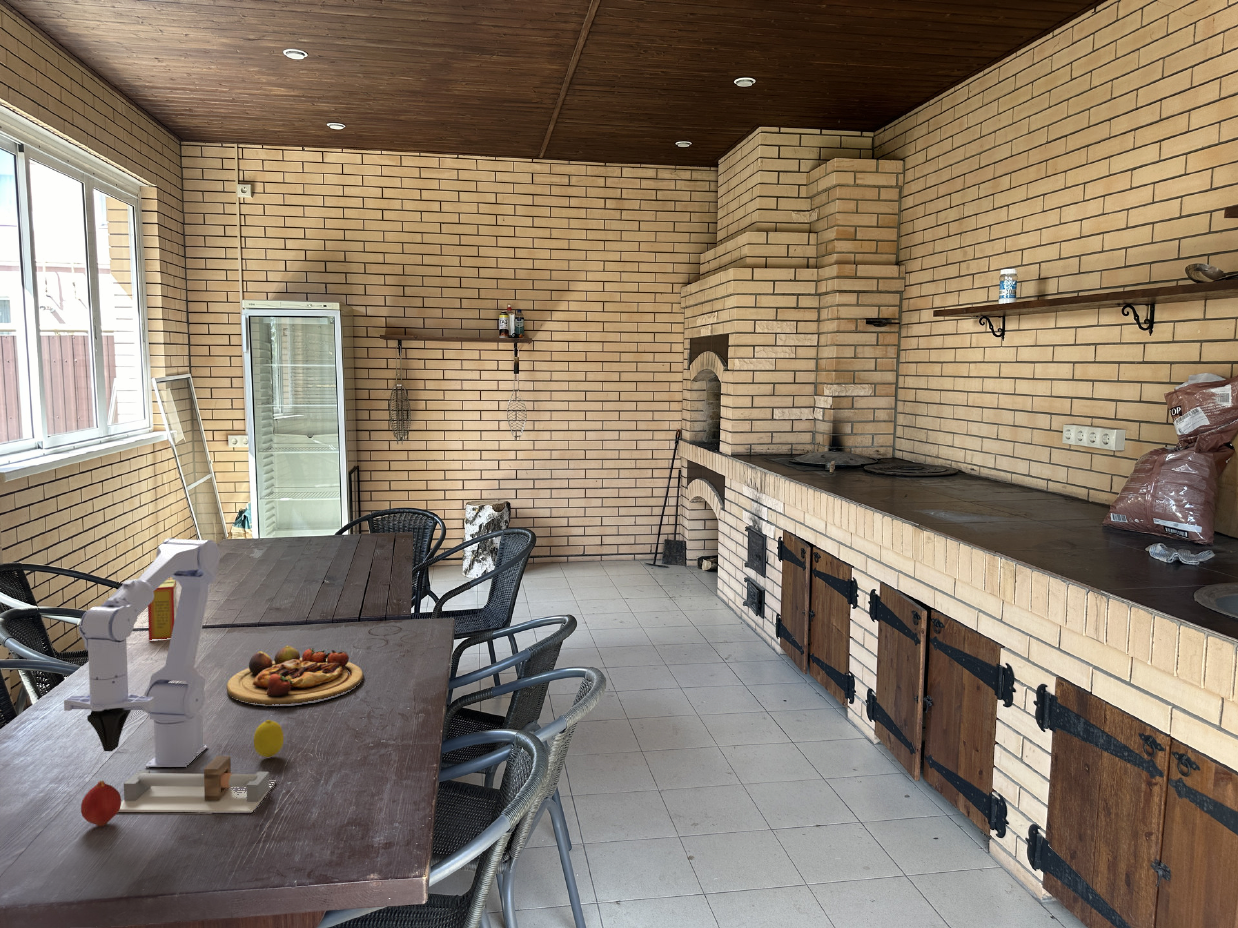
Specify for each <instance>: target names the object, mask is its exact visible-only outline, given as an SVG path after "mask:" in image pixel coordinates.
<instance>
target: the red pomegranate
mask: <svg viewBox="0 0 1238 928" xmlns="http://www.w3.org/2000/svg"><path fill="white" fill-rule="evenodd" d="M121 802H122V796H121V793H120V792H119V791H118V790H117V789H116V787H114V786H113V785H111V784H107V783H105V781H104V780H99V781H98V782H97V784H96V785H94V786H93V787H91V789H90V790H89V791H88V792H87V793H86V794H85V795H84V797H83V799H82V800H81V805H80V814H81V816H82V818H84V819H85V821H87V822H88V823H90V824H93V825H96V826H97V827H104V826H106V825H107V824H108V823H109V822H110V821H111V820H112V819H113V818H114V817H115V816H116V815H118V814H119V813H118V811H119V810H120V806H121Z"/></svg>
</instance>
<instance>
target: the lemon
mask: <svg viewBox="0 0 1238 928" xmlns="http://www.w3.org/2000/svg"><path fill="white" fill-rule="evenodd" d="M284 737H285V735H284V732H283V728H282V727H281V725H280V724H279V723H278V722H276V721H275V720H271V719H266V721H264V722H262V723H261V724H259V725H258V727H256V729H255V732H254V735H253V748H254V750H255V751H256V753H257V754H258V755H259V756H262V757H265V758H266V757H270V756H272V757H273V756H275V755H277V753H278V754H279V752H280V751H281V750H282V748H283V745H284Z"/></svg>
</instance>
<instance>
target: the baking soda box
mask: <svg viewBox="0 0 1238 928" xmlns="http://www.w3.org/2000/svg"><path fill="white" fill-rule="evenodd" d="M153 592H154V599H153V601H152V602H151V603H150V604H149V605H148V606H147V618H148V619H147V620H148V622H147V623H148V624H147V625H148V641H149V640H152V639H167V638H171V636H172V631H173V627H174V622H175V617H176V613H177V608H178V603H177V581H176V580H174V579H167V580H166V581H165V582H164V583H163V584H161V585H160V586H159V587H158V588H157V589H155V590H154V591H153Z"/></svg>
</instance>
